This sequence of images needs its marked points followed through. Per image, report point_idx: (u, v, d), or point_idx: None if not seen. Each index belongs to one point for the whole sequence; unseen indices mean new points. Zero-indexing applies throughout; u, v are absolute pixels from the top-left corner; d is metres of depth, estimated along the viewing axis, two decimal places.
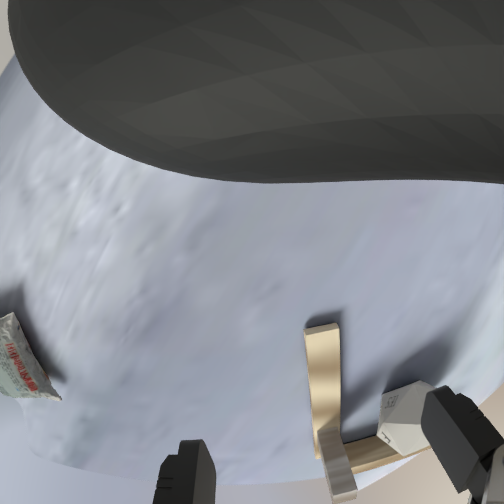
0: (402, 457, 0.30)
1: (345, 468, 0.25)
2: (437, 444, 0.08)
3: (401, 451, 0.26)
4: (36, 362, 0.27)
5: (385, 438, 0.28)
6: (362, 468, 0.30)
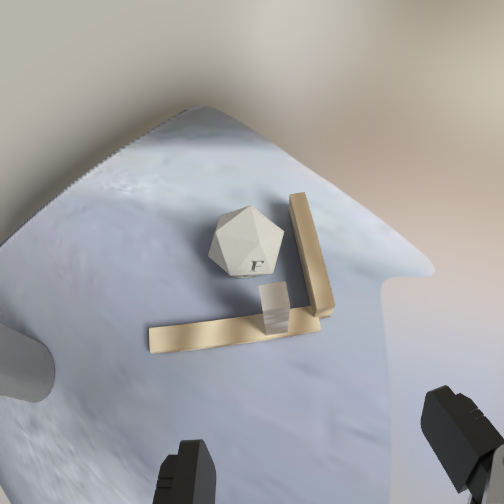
0: (312, 232, 0.38)
1: None
2: (437, 444, 0.08)
3: (254, 247, 0.34)
4: None
5: (259, 265, 0.36)
6: (318, 275, 0.35)
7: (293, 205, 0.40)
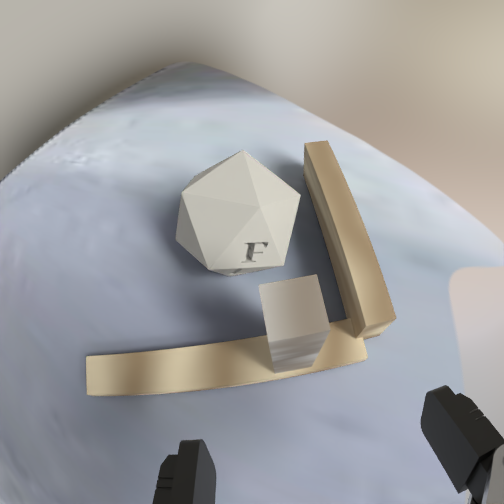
0: (346, 196, 0.22)
1: None
2: (437, 444, 0.08)
3: (250, 215, 0.18)
4: None
5: (260, 251, 0.20)
6: (364, 265, 0.19)
7: (312, 157, 0.24)
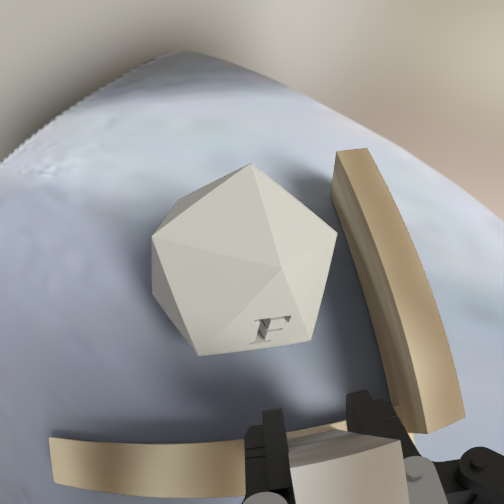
0: (401, 234, 0.15)
1: None
2: None
3: (266, 281, 0.11)
4: None
5: (278, 328, 0.13)
6: (428, 344, 0.12)
7: (348, 173, 0.17)
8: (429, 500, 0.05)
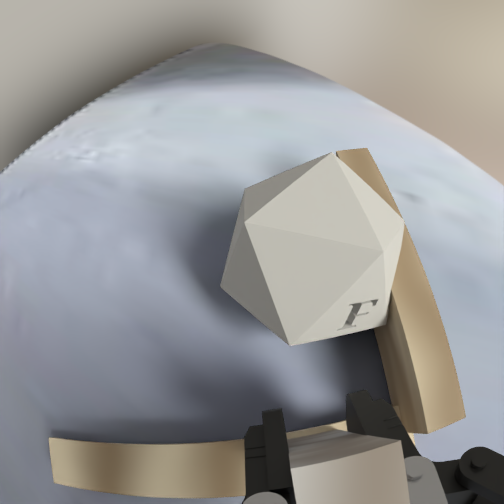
0: None
1: None
2: None
3: (367, 264, 0.11)
4: None
5: (365, 312, 0.12)
6: (428, 344, 0.12)
7: None
8: (429, 500, 0.05)
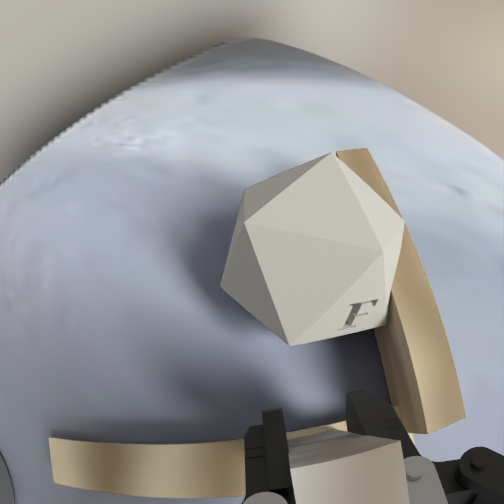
0: None
1: None
2: None
3: (367, 264, 0.11)
4: None
5: (365, 312, 0.12)
6: (428, 344, 0.12)
7: None
8: (429, 500, 0.05)
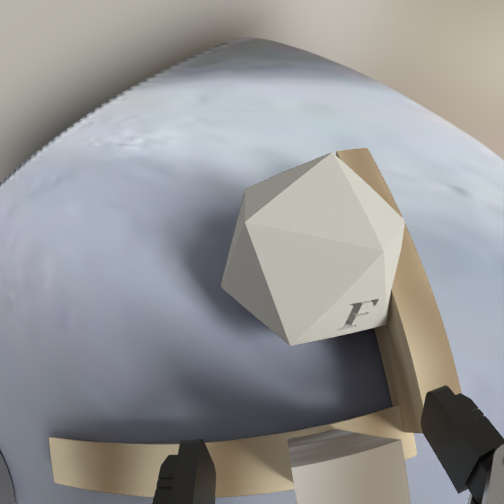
0: None
1: None
2: (437, 444, 0.08)
3: (368, 264, 0.11)
4: None
5: (365, 312, 0.12)
6: (429, 343, 0.12)
7: None
8: None
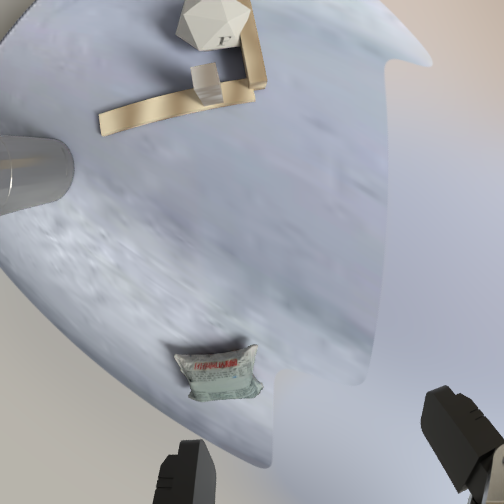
0: (249, 14, 0.30)
1: None
2: (437, 444, 0.08)
3: (222, 25, 0.28)
4: (222, 353, 0.44)
5: (227, 40, 0.31)
6: (252, 52, 0.31)
7: None
8: None
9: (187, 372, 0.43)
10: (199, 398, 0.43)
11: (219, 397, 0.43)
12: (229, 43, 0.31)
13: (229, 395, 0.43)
